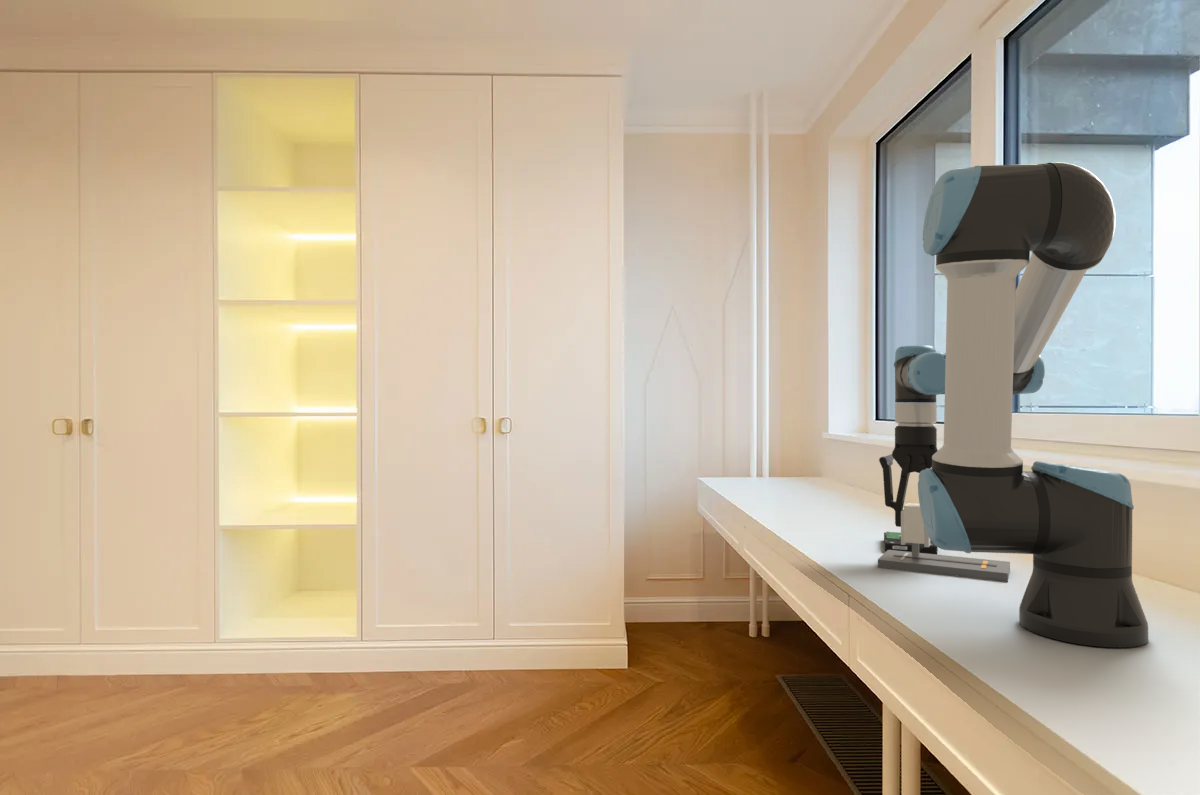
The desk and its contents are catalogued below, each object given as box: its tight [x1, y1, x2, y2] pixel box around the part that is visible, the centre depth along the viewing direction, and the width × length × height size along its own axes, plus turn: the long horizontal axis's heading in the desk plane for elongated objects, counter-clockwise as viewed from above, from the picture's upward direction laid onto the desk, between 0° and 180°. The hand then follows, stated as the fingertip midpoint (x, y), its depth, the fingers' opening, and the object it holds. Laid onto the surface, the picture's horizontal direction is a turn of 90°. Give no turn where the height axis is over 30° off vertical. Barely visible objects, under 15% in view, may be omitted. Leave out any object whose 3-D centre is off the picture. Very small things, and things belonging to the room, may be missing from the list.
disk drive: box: [883, 531, 939, 555], centre depth 161 cm, size 10×3×15 cm
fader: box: [903, 502, 924, 557], centre depth 144 cm, size 5×4×10 cm
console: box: [877, 550, 1011, 583], centre depth 142 cm, size 11×22×2 cm, turn 59°
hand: (915, 544), depth 144 cm, fingers closed on fader, 3 cm apart
